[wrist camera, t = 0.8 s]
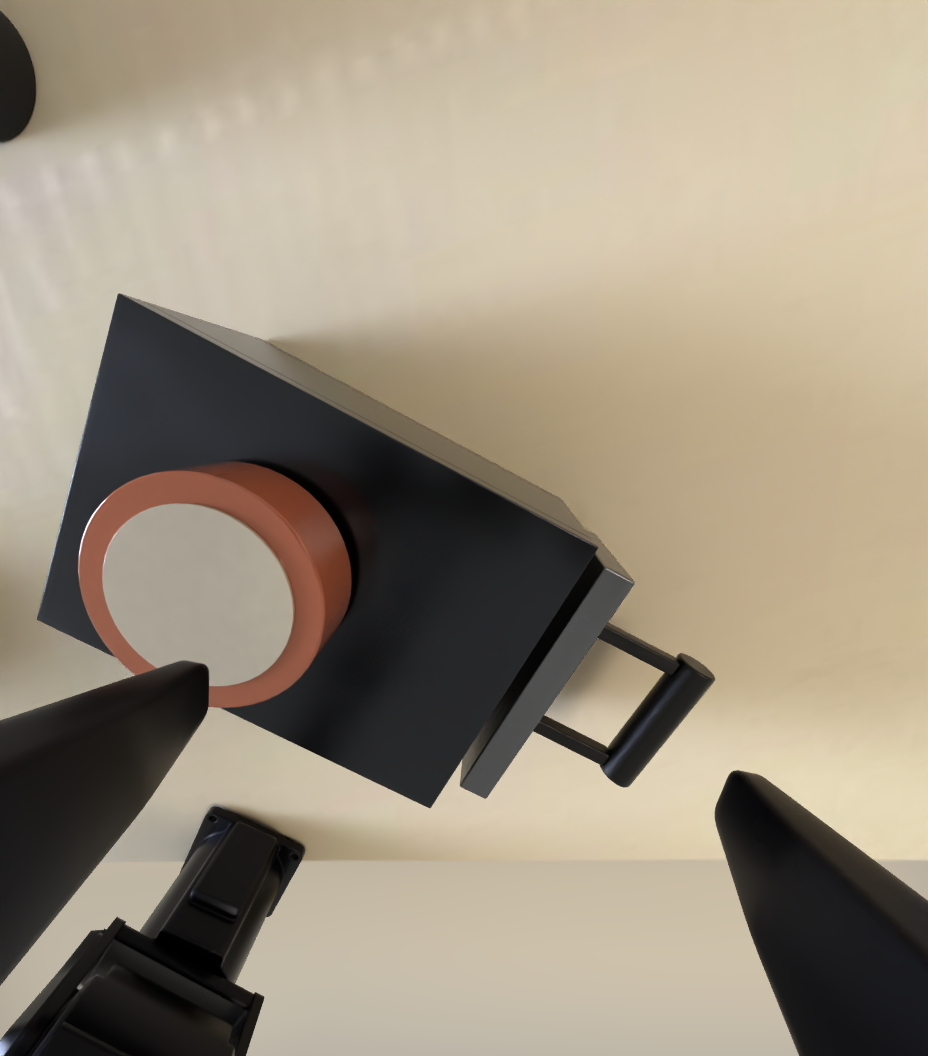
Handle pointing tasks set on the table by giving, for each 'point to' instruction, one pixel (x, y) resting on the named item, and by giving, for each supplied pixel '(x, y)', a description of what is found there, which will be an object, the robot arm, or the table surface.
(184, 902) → the robot arm
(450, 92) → the table surface
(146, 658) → the round tin
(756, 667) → the table surface
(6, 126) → the drinking cup
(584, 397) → the table surface
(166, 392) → the cabinet
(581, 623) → the drawer
